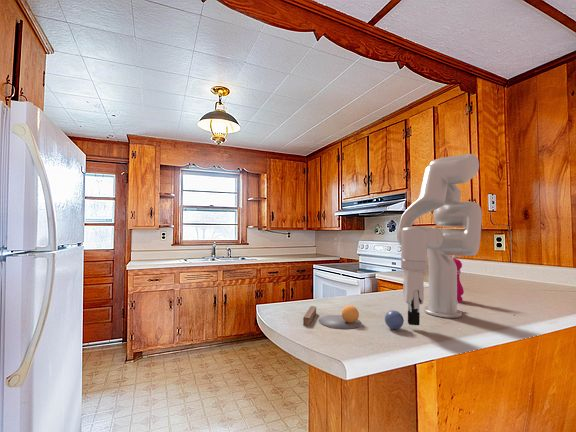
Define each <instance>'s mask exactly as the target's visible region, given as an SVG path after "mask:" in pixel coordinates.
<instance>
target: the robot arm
mask: <svg viewBox="0 0 576 432" xmlns="http://www.w3.org/2000/svg"><path fill="white" fill-rule="evenodd" d="M479 169H480V161H479V158H478V157H477V155H475V154H473V153H466V154H461V155H452V156H444V157H440V158H436V159H433V160H432V161H430V163H429V164H428V165H427V166H426V168H425V169H424V171H423V172H424V173H423V176H422V177H423V178H422V182H421V185H420V190H419V193H418V194H419V195H418V198H417V199H416V200H415V201H414V202H413V203H411V204H410V205H409V206H408V207H407V209H406V210H404V212H403V213H402V215H401V217H400V220H399V222H398V223H399V224H398V228H397V233H396V240H397V243H398V244H399V245H400V246H401V247H400V249H401V250H400V253H401V254H400V256H401V257H400V259H401V260H400V264H401V265H400V266H401V267H400V270H402V271H403V278H402V279H403V280H402V283H403V284H402V286H403V287H402V298H403V301H404V302H405V303H406V304H407V323H408V325H410V326H420V323H421V322H420V319H421V318H420V314H421V313H420V305H423V304H424V297H425V296H424V294H425V293H424V290H425V289H424V288H425V287H424V285H425V283H424V282H425V281H424V279H425V278H424V273H426V272H427V271H428V305H426V306H424V308H423V311H424V313H426V314H428V315H431V316H435V317H439V318H447V319H448V318H449V319H451V318H452V319H457V318H462V316H463V312H462V311H461V310H459V309H458V305H459V302H458V301H457V266H456V264H455V262H454V261H453V258H452V256H453V255H455V256H459V257H460V256H462V257H463V256H464V257H472V256H476V255H477V254H478V253H479V251H480V245H481V233H482V225H483V224H482V223H483V221H482V220H483V212H482V207H481V206H480V205H479V203H477V202H475V201H461V195H462V192H461V189H460V188H459V187H458V186H457V185H458V184H459V185H460V184H466V183H468V182H469V181H470V180H472V179H473V178H475V176H476V175H477V174H478V171H479ZM430 212H433V222H434V224H435V225H436V226H439V227H443V228H438V227H436V226H423V225H420V226H419V225H417V226H415V225H414V226H413V224H414V222H415V221H417V220H418V219H419V218H420V217H422V216H423V215H427V214H429V213H430ZM444 227H445V228H444ZM454 228H455V229H454ZM457 228H458V229H457ZM459 228H460V229H459ZM461 228H462V229H461ZM463 228H464V229H463ZM427 262H428V263H427Z"/></svg>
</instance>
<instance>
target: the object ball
mask: <svg viewBox="0 0 576 432" xmlns="http://www.w3.org/2000/svg"><path fill="white" fill-rule="evenodd" d="M341 315H342V318H343V319H344V320H345V321H346V322H348V323H354V322H356V321H357V320H359V316H360V313H359V310H358V309H357V307H356V306H354V305H350V304H349V305H346V306H344V307H343V308H342V311H341Z"/></svg>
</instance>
